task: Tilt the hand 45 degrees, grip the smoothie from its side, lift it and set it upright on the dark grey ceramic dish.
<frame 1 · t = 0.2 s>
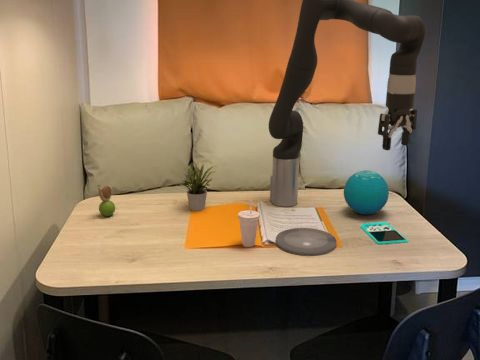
hand: (395, 147, 158), 29 cm above the table, tool pointing down, fingers open, 8 cm apart
dish: (305, 242, 166), on the table
house plant: (201, 209, 194), on the table
decorative orb: (364, 213, 190), on the table
smoothie: (248, 245, 165), on the table
handheld game console: (382, 235, 173), on the table
snail figurine: (106, 216, 187), on the table
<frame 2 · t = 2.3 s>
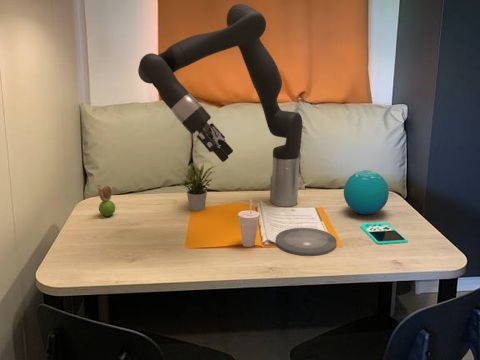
hand: (228, 156, 158), 27 cm above the table, tool tilted 40°, fingers open, 8 cm apart
nothing on the table moved.
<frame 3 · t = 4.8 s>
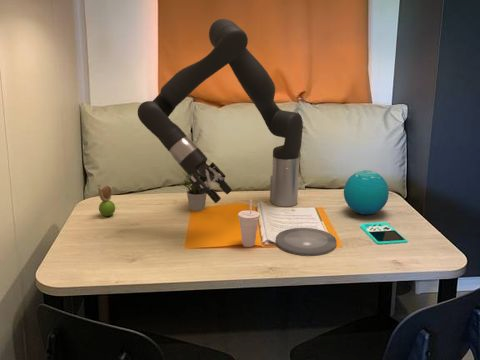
hand: (224, 196, 163), 14 cm above the table, tool tilted 45°, fingers open, 8 cm apart
nothing on the table moved.
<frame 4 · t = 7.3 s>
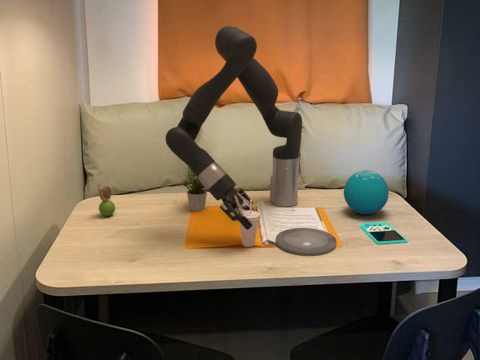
hand: (254, 223, 162), 7 cm above the table, tool tilted 45°, fingers closed on smoothie, 6 cm apart
smoothie: (248, 244, 165), on the table, touching gripper
everything else where it was.
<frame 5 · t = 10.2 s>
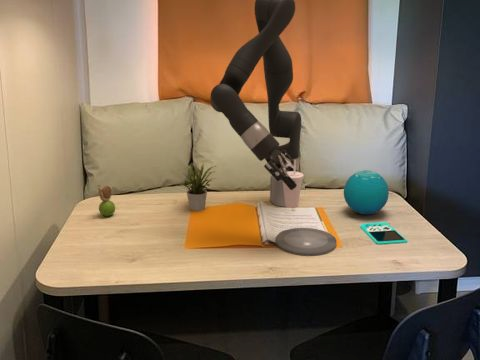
hand: (297, 184, 160), 19 cm above the table, tool tilted 45°, fingers closed on smoothie, 6 cm apart
smoothie: (291, 206, 163), point 12 cm above the table, touching gripper
everything else where it was.
when the fingers open (9 cm above the table, at t = 13.0 s): smoothie drops 1 cm, resting on dish.
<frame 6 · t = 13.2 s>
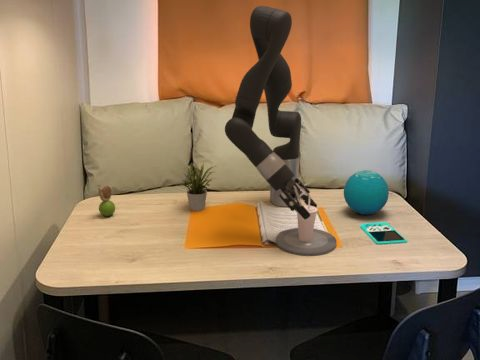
hand: (311, 212, 163), 10 cm above the table, tool tilted 45°, fingers open, 8 cm apart
smoothie: (305, 239, 166), point 1 cm above the table, touching dish
everything else where it was.
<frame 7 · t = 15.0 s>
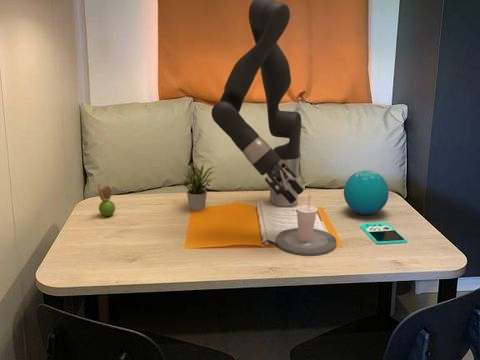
hand: (297, 197, 163), 14 cm above the table, tool tilted 45°, fingers open, 8 cm apart
nothing on the table moved.
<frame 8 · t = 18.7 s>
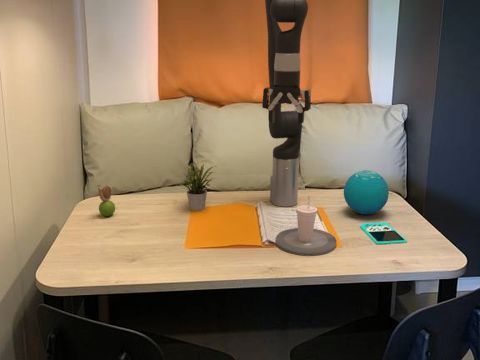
hand: (285, 123, 166), 34 cm above the table, tool pointing down, fingers open, 8 cm apart
nothing on the table moved.
at the end: smoothie inside the target area on the dish (0.2 cm from its centre), point 1.1 cm above the dish's base; smoothie tilted 1°; the gripper is holding nothing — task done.
